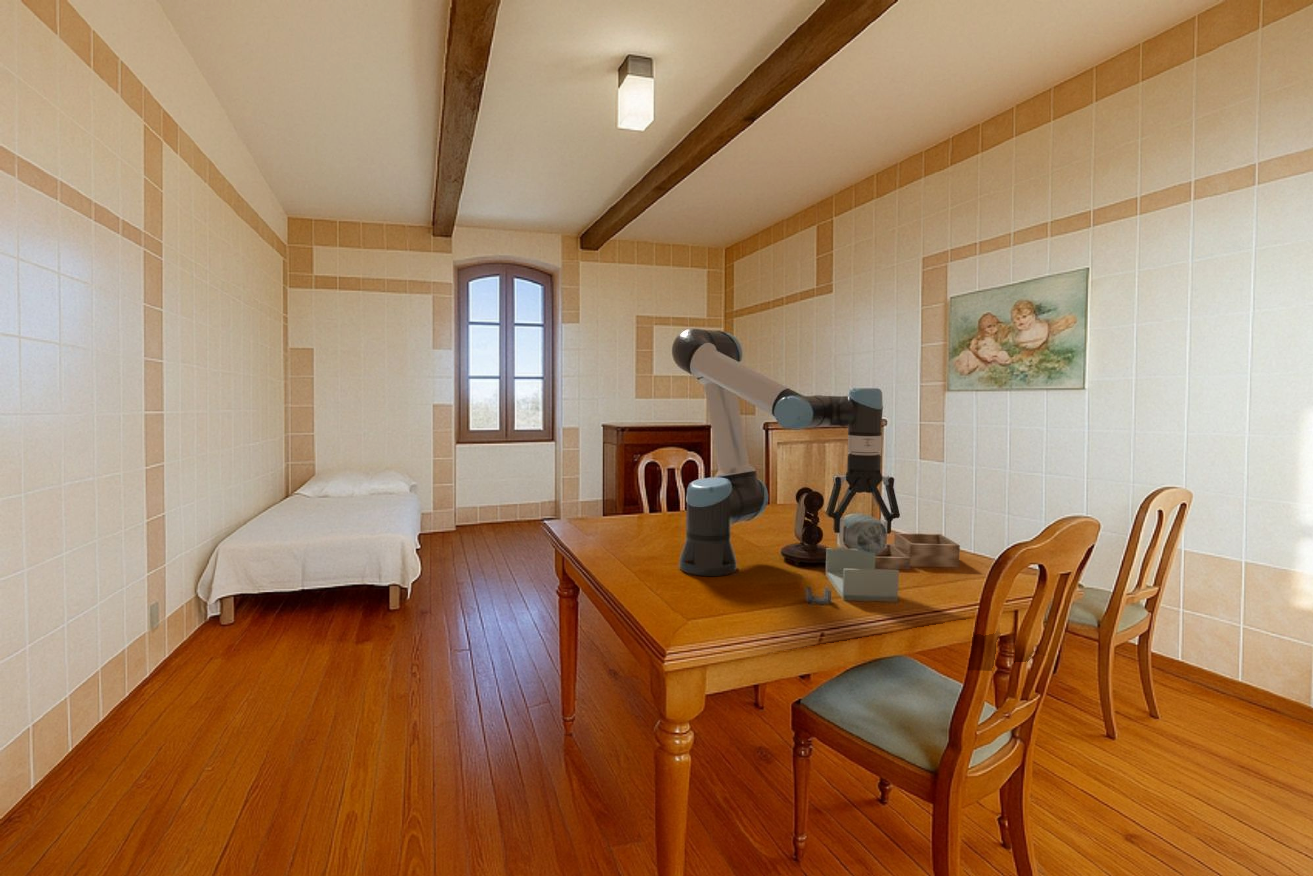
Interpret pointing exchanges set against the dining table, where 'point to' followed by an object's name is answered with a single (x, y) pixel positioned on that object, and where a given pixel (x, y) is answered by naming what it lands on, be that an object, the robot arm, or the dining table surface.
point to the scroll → (807, 529)
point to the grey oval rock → (864, 533)
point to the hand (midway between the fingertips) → (861, 546)
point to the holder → (860, 576)
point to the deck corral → (889, 558)
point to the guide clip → (818, 597)
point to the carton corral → (928, 549)
